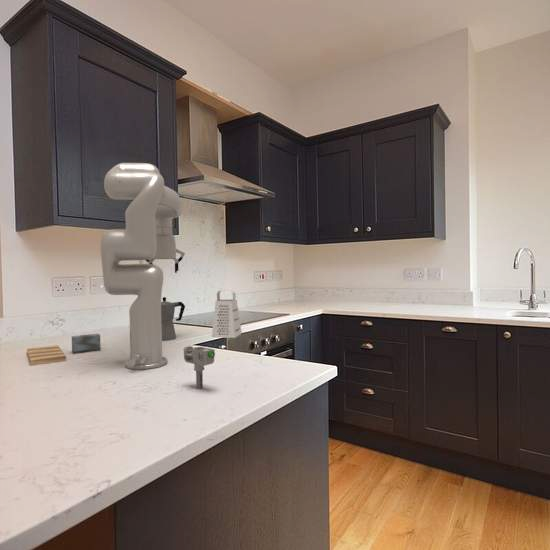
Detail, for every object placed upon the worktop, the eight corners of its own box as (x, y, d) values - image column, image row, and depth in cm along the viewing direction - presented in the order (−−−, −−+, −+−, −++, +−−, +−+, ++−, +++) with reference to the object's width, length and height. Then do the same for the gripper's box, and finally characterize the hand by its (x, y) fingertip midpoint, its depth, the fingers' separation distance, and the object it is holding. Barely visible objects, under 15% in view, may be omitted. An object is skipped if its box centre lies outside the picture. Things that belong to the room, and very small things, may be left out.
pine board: (66, 360, 128) (66, 356, 128) (30, 365, 123) (30, 360, 123) (58, 348, 148) (57, 345, 148) (27, 352, 142) (27, 348, 142)
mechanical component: (191, 382, 101) (190, 344, 101) (217, 390, 94) (217, 349, 94) (182, 385, 99) (181, 346, 98) (208, 393, 92) (207, 351, 92)
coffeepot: (151, 342, 158) (150, 298, 158) (147, 338, 167) (146, 297, 166) (188, 338, 165) (187, 296, 165) (182, 335, 174) (181, 295, 173)
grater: (234, 337, 165) (233, 291, 165) (211, 337, 167) (210, 291, 167) (241, 333, 176) (240, 289, 175) (219, 333, 178) (218, 290, 177)
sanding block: (98, 349, 147) (98, 333, 147) (100, 350, 144) (100, 334, 144) (72, 352, 142) (71, 336, 142) (73, 354, 139) (73, 337, 138)
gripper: (140, 231, 156) (141, 273, 156) (184, 231, 160) (185, 272, 160) (142, 233, 163) (143, 273, 163) (184, 233, 167) (185, 272, 167)
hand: (164, 273), depth 162 cm, fingers open, 9 cm apart
